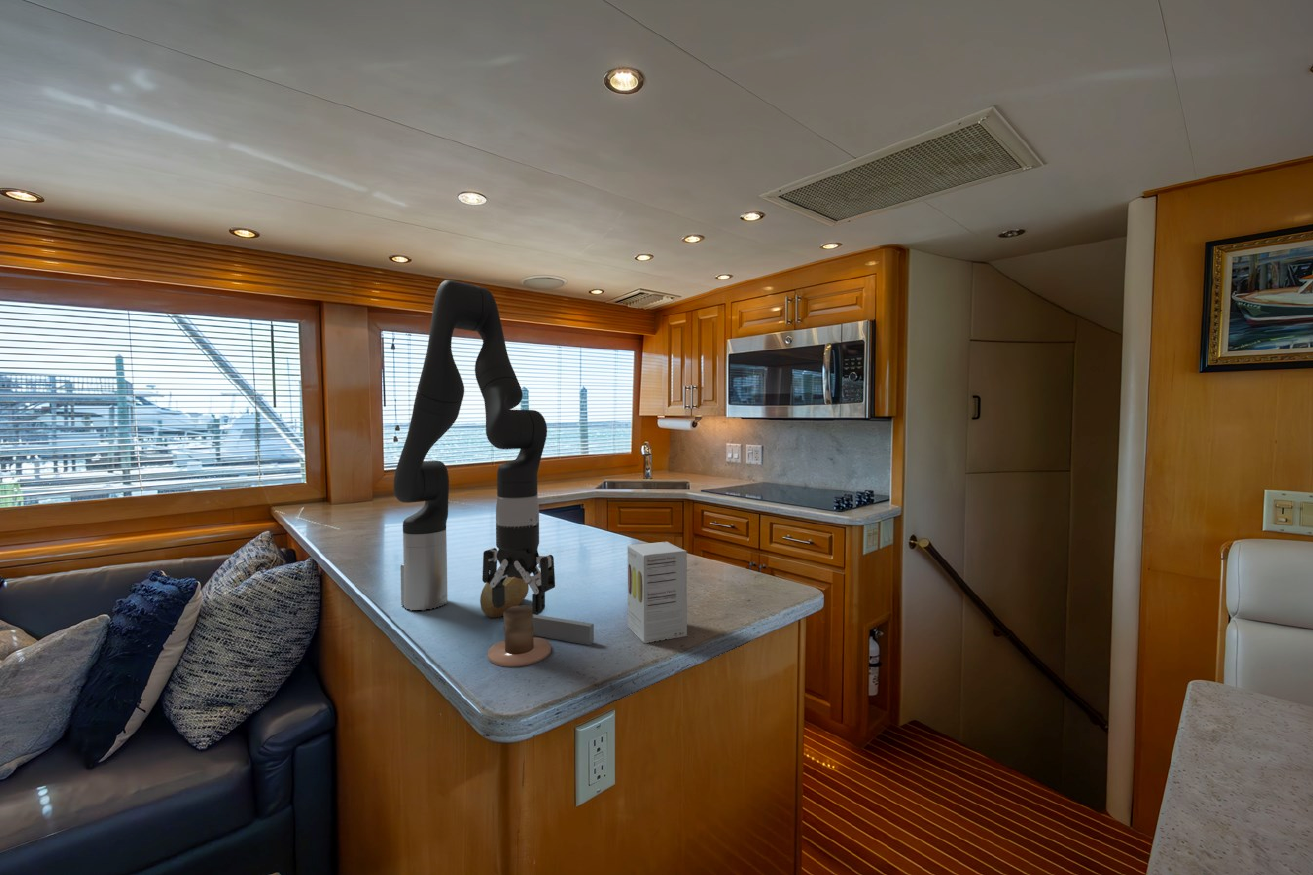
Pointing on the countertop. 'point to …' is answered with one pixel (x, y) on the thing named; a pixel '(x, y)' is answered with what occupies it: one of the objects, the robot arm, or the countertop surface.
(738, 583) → the countertop surface
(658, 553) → the supplement box
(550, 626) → the plastic fence
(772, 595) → the countertop surface
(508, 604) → the bread roll
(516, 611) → the walnut cylinder
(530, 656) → the terracotta saucer
